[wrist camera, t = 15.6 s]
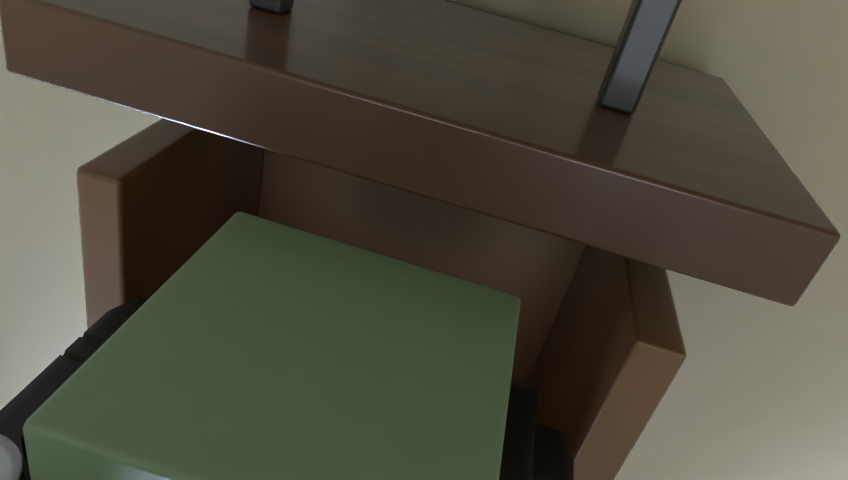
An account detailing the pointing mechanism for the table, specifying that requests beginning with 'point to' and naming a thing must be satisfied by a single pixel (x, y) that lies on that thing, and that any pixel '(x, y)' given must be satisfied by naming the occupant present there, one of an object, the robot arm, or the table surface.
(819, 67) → the table surface
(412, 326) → the block
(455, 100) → the drawer
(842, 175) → the table surface
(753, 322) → the table surface
